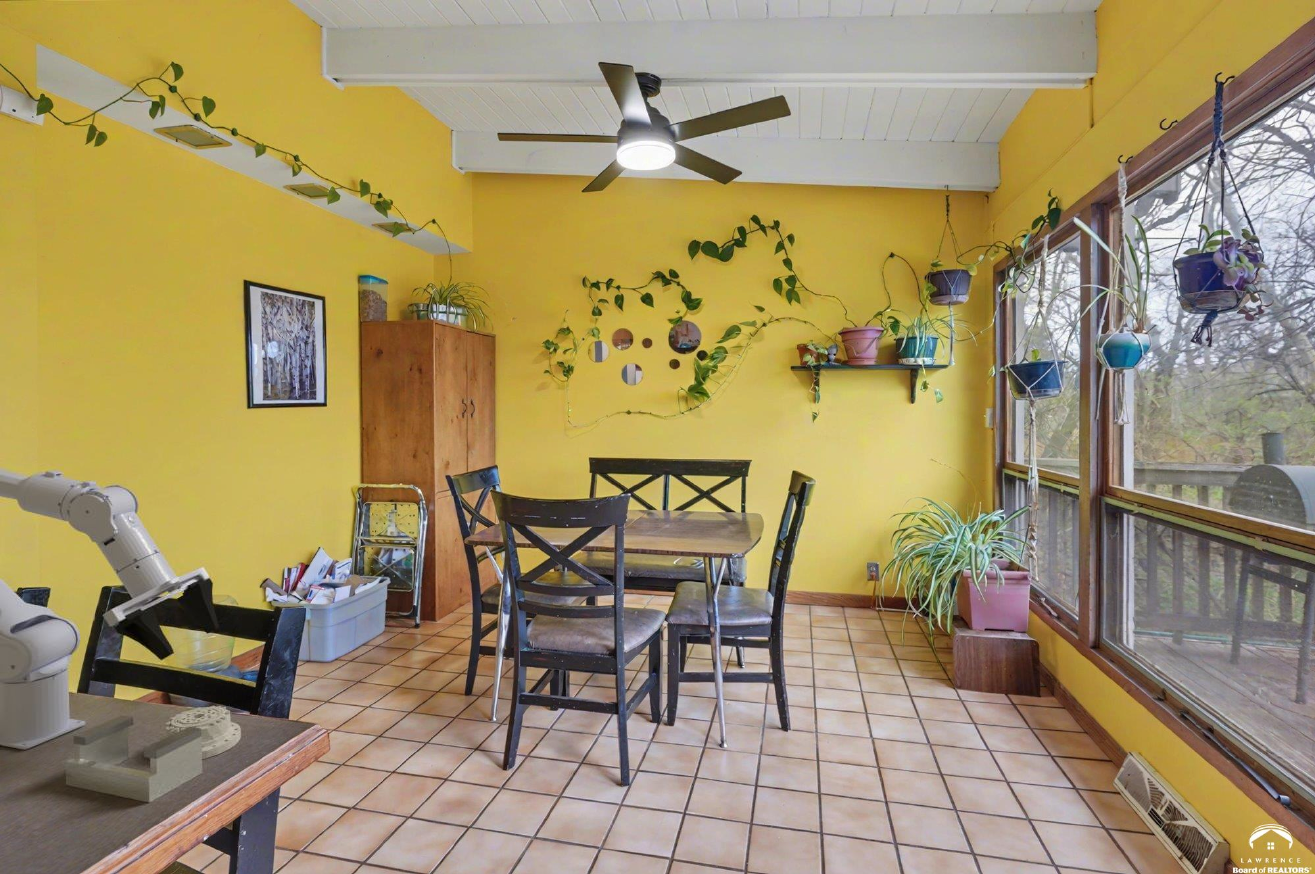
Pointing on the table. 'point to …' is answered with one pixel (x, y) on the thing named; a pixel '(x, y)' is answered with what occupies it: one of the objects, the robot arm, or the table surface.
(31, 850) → the table surface
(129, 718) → the bracket
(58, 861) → the table surface
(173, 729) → the mechanical component
